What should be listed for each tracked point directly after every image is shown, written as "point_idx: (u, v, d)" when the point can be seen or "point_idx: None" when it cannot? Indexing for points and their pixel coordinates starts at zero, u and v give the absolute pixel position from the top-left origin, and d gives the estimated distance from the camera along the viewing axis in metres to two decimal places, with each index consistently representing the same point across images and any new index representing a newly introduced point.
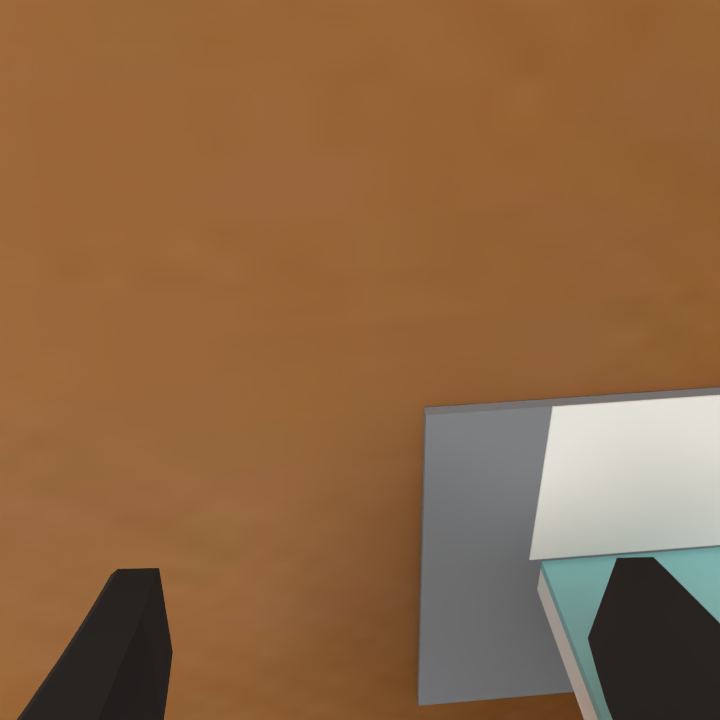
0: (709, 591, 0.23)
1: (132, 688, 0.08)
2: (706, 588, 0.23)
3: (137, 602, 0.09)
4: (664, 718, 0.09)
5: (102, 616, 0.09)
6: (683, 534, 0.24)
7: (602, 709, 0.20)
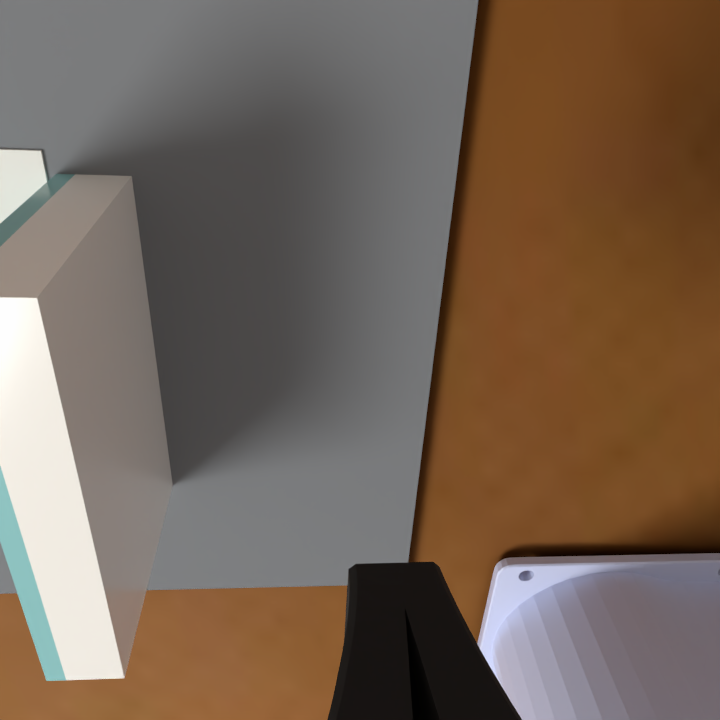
0: None
1: None
2: None
3: (393, 595, 0.09)
4: None
5: (368, 609, 0.09)
6: None
7: None
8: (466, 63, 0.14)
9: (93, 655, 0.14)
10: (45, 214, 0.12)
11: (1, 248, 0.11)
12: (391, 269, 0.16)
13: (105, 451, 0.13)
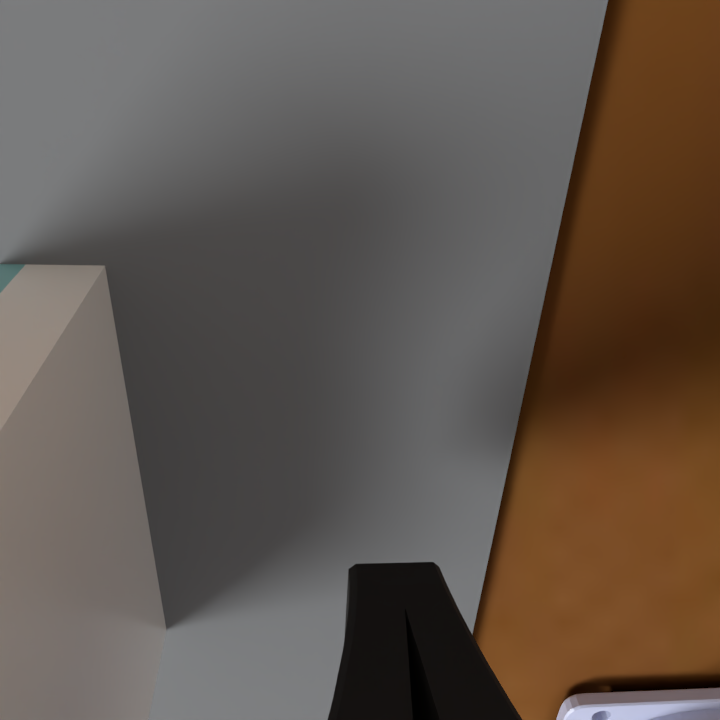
0: None
1: None
2: None
3: (393, 595, 0.09)
4: None
5: (368, 609, 0.09)
6: None
7: None
8: (579, 111, 0.10)
9: None
10: None
11: None
12: (456, 377, 0.12)
13: (61, 691, 0.09)
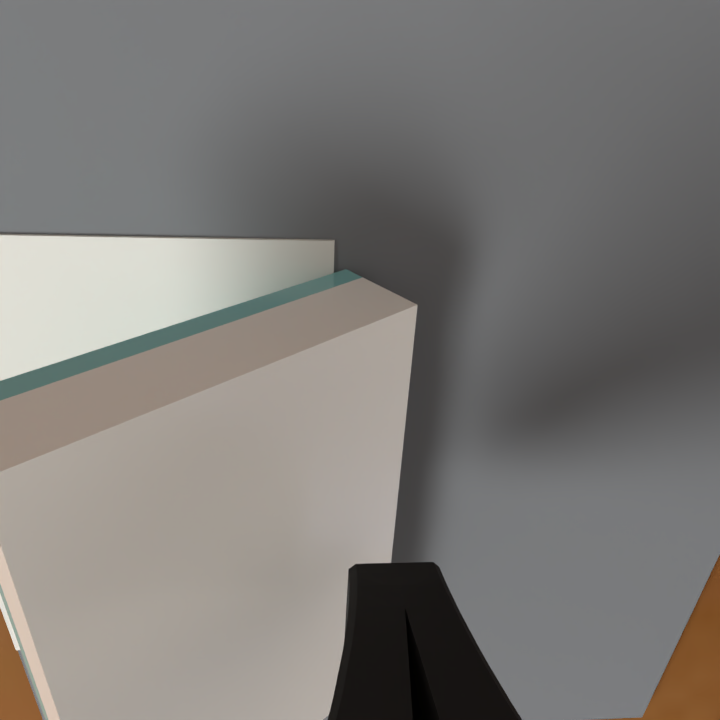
0: None
1: None
2: None
3: (393, 595, 0.09)
4: None
5: (367, 609, 0.09)
6: None
7: None
8: None
9: None
10: (232, 330, 0.09)
11: (107, 366, 0.08)
12: None
13: (162, 653, 0.09)
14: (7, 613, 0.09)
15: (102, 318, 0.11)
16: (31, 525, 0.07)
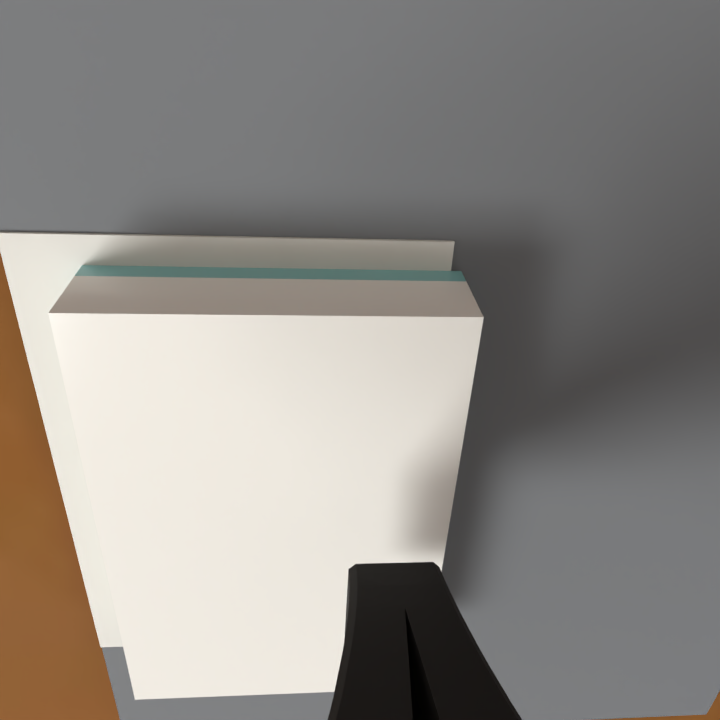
0: None
1: None
2: None
3: (393, 595, 0.09)
4: None
5: (368, 608, 0.09)
6: None
7: None
8: None
9: None
10: (303, 284, 0.10)
11: (194, 278, 0.10)
12: None
13: (181, 522, 0.11)
14: None
15: None
16: (82, 363, 0.09)
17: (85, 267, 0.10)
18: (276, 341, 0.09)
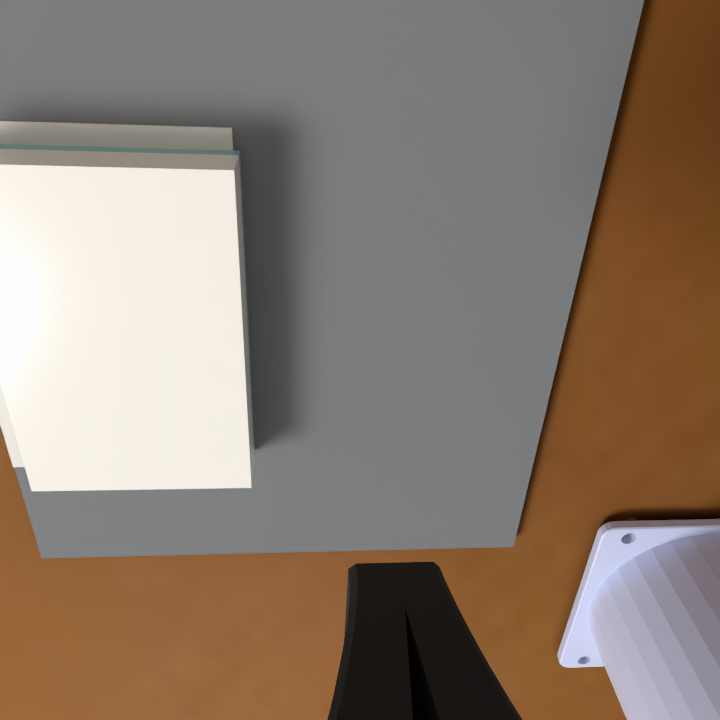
0: None
1: None
2: None
3: (393, 595, 0.09)
4: None
5: (368, 608, 0.09)
6: None
7: None
8: (630, 45, 0.15)
9: None
10: (120, 154, 0.15)
11: (45, 150, 0.15)
12: (537, 240, 0.17)
13: (47, 332, 0.16)
14: None
15: None
16: None
17: None
18: (94, 186, 0.14)
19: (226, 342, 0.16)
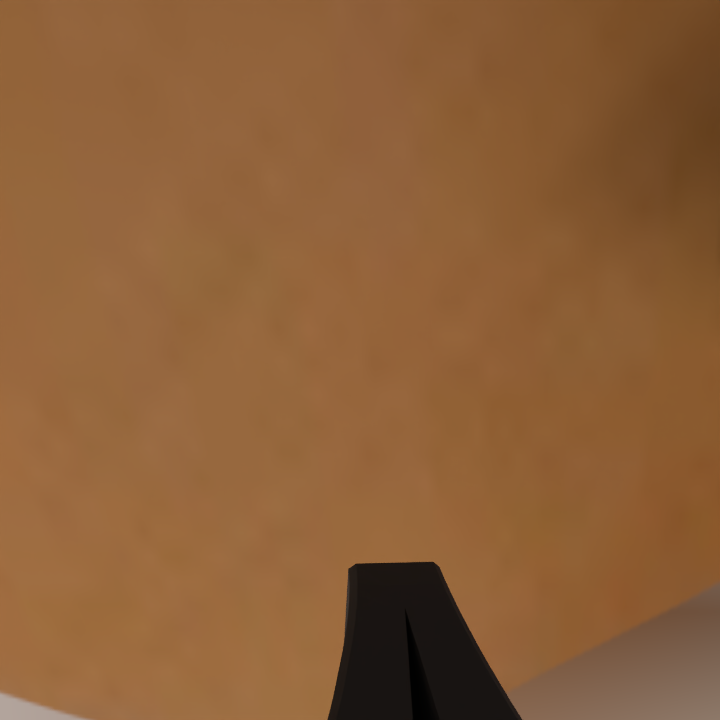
0: None
1: None
2: None
3: (393, 595, 0.09)
4: None
5: (368, 608, 0.09)
6: None
7: None
8: None
9: None
10: None
11: None
12: None
13: None
14: None
15: None
16: None
17: None
18: None
19: None
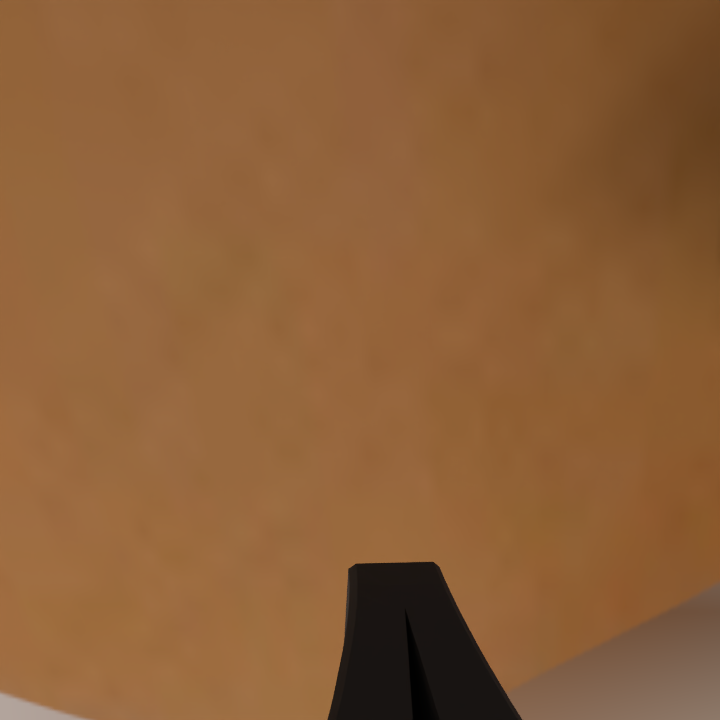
0: None
1: None
2: None
3: (393, 595, 0.09)
4: None
5: (368, 608, 0.09)
6: None
7: None
8: None
9: None
10: None
11: None
12: None
13: None
14: None
15: None
16: None
17: None
18: None
19: None
